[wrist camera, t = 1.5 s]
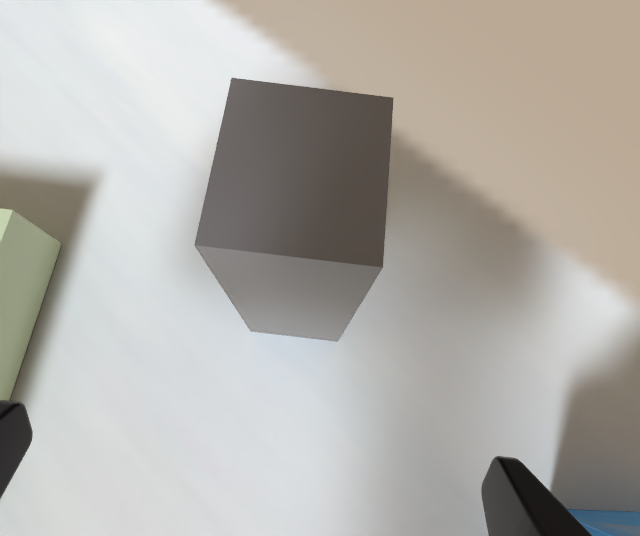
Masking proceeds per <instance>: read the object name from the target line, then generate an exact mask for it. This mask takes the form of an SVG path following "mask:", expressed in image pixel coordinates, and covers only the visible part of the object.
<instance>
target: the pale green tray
mask: <svg viewBox="0 0 640 536" xmlns="http://www.w3.org/2000/svg"><path fill="white" fill-rule="evenodd" d="M61 245H62V243H61V242H59V241H58V240H56V239H55V238H53V237H52V236H50V235H49V234H47V233H46V232H44V231H43V230H41V229H40V228H39V227H37V226H36V225H34V224H33V223H31V222H30V221H28V220H27V219H25V218H24V217H22V216H21V215H20V214H18V213H17V212H15V211H14V210H9V209H1V208H0V400H7V401H9V400H10V397H11V394H12V391H13V388H14V385H15V382H16V379H17V376H18V373H19V370H20V367H21V364H22V361H23V359H24V356H25V353H26V350H27V347H28V344H29V341H30V338H31V335H32V332H33V329H34V326H35V323H36V320H37V317H38V314H39V311H40V308H41V305H42V302H43V299H44V296H45V293H46V290H47V287H48V284H49V281H50V278H51V275H52V272H53V269H54V266H55V263H56V260H57V257H58V254H59V251H60V248H61Z"/></svg>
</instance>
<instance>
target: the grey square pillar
mask: <svg viewBox="0 0 640 536" xmlns="http://www.w3.org/2000/svg"><path fill="white" fill-rule="evenodd" d="M392 110H393V98H390V97H382V96H374V95H366V94H358V93H350V92H342V91H334V90H326V89H318V88H309V87H301V86H293V85H285V84H277V83H269V82H261V81H253V80H245V79H237V78H232V79H231V84H230V88H229V93H228V97H227V102H226V106H225V111H224V115H223V120H222V124H221V129H220V133H219V138H218V142H217V147H216V151H215V156H214V160H213V165H212V169H211V174H210V178H209V183H208V187H207V192H206V196H205V201H204V205H203V210H202V214H201V219H200V223H199V228H198V232H197V237H196V241H195V247H196V248H197V250H198V251H199V253H200V254H201V256H202V257H203V259H204V260H205V262H206V263H207V265H208V267H209V268H210V270H211V271H212V273H213V274H214V276H215V277H216V279H217V280H218V282H219V283H220V285H221V286H222V288H223V290H224V291H225V293H226V294H227V296H228V297H229V299H230V300H231V302H232V303H233V305H234V306H235V308H236V310H237V311H238V313H239V314H240V316H241V317H242V319H243V320H244V322H245V323H246V325H247V326H248V328H249V329H250V331H252V332H261V333H270V334H278V335H287V336H295V337H304V338H313V339H321V340H330V341H338V340H339V338H340V337H341V335H342V333H343V332H344V330H345V329H346V327H347V325H348V324H349V322H350V320H351V319H352V317H353V315H354V314H355V312H356V310H357V309H358V307H359V306H360V304H361V302H362V301H363V299H364V297H365V296H366V294H367V292H368V291H369V289H370V288H371V286H372V284H373V283H374V281H375V279H376V278H377V276H378V274H379V273H380V271H381V269H382V268H383V255H384V239H385V223H386V207H387V191H388V175H389V159H390V143H391V127H392Z"/></svg>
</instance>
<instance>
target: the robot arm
mask: <svg viewBox="0 0 640 536" xmlns="http://www.w3.org/2000/svg"><path fill="white" fill-rule="evenodd" d="M32 434H33V432H32V428H31V424H30V421H29V417H28V414H27V410H26V407H25V405H24V404H23V403H21V402H16V401H7V400H0V499H1V497H2V495H3V493H4V491H5V489H6V488H7V486H8V484H9V482H10V480H11V479H12V477H13V475H14V473H15V471H16V470H17V468H18V466H19V464H20V462H21V461H22V459H23V457H24V455H25V453H26V451H27V450H28V448H29V446H30V444H31V441H32ZM481 492H482V500H483V506H484V512H485V517H486V523H487V529H488V534H489V536H592V535H591V534H590V533H589V532H588V530H587V529H586V528H585V527H584V526H583V525H582V524H581V523H580V522H579V521H578V520H577V519H576V518H575V517H574V516H573V515H572V514H571V513H570V512H569V511H568V510H567V509H566V508H565V507H564V506H563V505H562V504H561V503H560V502H559V500H558V499H557V498H556V497H555V496H554V495H553V494H552V493H551V492H550V491H549V490H548V489H547V488H546V487H545V486H544V485H543V484H542V483H541V482H540V481H539V480H538V479H537V478H536V477H535V476H534V475H533V474H532V473H531V472H530V470H529V469H528V468H527V467H526V466H525V465H524V464H523V463H522V462H521V461H519V460H518V459H516V458H511V457H502V456H496V457H495V458H494V459H493V460H492V462H491V465H490V467H489V469H488V471H487V474H486V476H485V478H484V480H483V483H482V490H481Z"/></svg>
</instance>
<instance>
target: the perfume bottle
mask: <svg viewBox="0 0 640 536" xmlns="http://www.w3.org/2000/svg"><path fill="white" fill-rule="evenodd" d="M567 510H568V511H569V512H570V513H571V514H572V515H573V516H574V517H575V518H576V519H577V520H578V521H579V522H580V523H581V524H582V525H583V526H584V527H585V528H586V529H587V530H588V532H589V533H590V534H591V535H592V536H640V512H622V511H597V510H573V509H567Z"/></svg>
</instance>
